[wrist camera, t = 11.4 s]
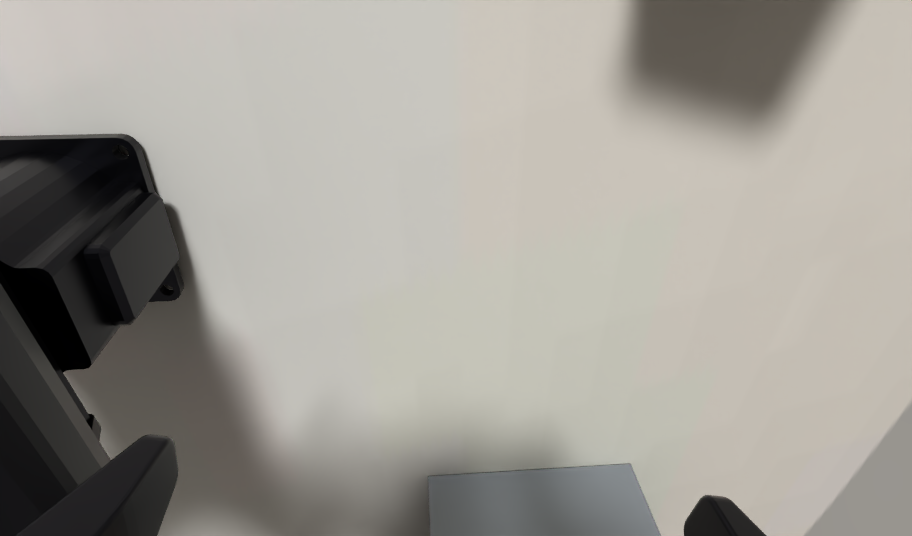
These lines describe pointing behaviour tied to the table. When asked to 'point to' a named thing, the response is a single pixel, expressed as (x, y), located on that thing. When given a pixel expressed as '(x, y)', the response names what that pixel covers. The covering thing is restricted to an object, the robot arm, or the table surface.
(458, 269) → the table surface
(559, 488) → the socket block
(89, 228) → the robot arm
